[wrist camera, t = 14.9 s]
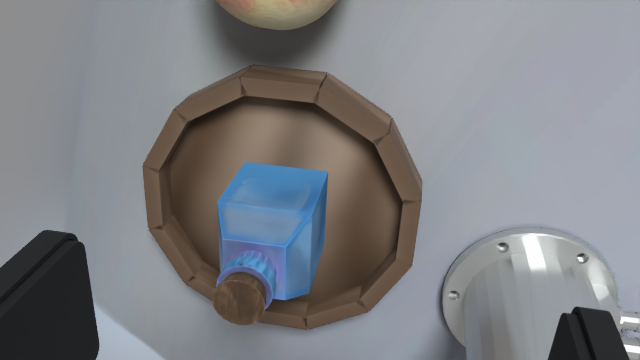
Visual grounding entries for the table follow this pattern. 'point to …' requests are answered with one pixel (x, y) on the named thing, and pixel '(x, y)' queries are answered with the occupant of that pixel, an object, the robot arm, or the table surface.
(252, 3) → the apple
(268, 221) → the perfume bottle
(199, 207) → the walnut tray
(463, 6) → the table surface
